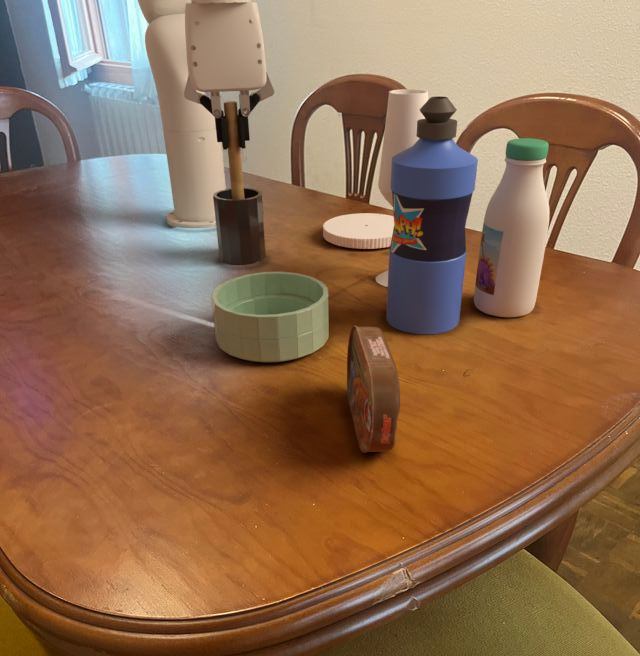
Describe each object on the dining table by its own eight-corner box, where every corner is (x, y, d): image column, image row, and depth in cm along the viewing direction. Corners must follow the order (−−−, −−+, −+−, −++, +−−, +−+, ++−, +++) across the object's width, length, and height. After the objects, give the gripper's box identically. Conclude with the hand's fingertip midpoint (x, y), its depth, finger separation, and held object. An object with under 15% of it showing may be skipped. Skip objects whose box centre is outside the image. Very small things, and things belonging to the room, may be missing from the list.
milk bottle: (536, 298, 87) (565, 136, 76) (531, 322, 81) (562, 149, 70) (477, 292, 89) (497, 133, 78) (468, 314, 83) (489, 146, 72)
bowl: (265, 308, 86) (262, 264, 82) (349, 333, 79) (350, 285, 76) (193, 347, 77) (187, 299, 73) (282, 378, 70) (280, 326, 67)
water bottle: (416, 341, 77) (433, 107, 63) (370, 314, 84) (376, 96, 70) (476, 322, 81) (504, 98, 67) (427, 298, 88) (443, 89, 74)
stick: (241, 244, 101) (229, 100, 90) (250, 247, 100) (239, 101, 89) (234, 248, 100) (220, 102, 89) (243, 250, 99) (230, 103, 88)
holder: (240, 250, 105) (234, 185, 100) (275, 258, 102) (271, 191, 96) (210, 262, 100) (202, 195, 95) (246, 271, 97) (240, 202, 91)
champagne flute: (390, 267, 97) (398, 86, 84) (431, 276, 94) (445, 90, 81) (366, 282, 93) (370, 93, 80) (408, 292, 90) (419, 96, 76)
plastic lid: (305, 240, 109) (305, 225, 107) (366, 222, 116) (366, 208, 115) (364, 261, 100) (365, 245, 98) (426, 241, 107) (427, 225, 106)
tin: (344, 385, 69) (344, 310, 64) (374, 383, 69) (376, 309, 64) (364, 472, 56) (366, 388, 52) (400, 470, 57) (406, 386, 52)
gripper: (279, -12, 86) (286, 139, 96) (157, -10, 84) (177, 145, 94) (287, -13, 80) (293, 149, 90) (154, -10, 78) (176, 155, 88)
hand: (233, 146), depth 92 cm, fingers closed on stick, 1 cm apart
